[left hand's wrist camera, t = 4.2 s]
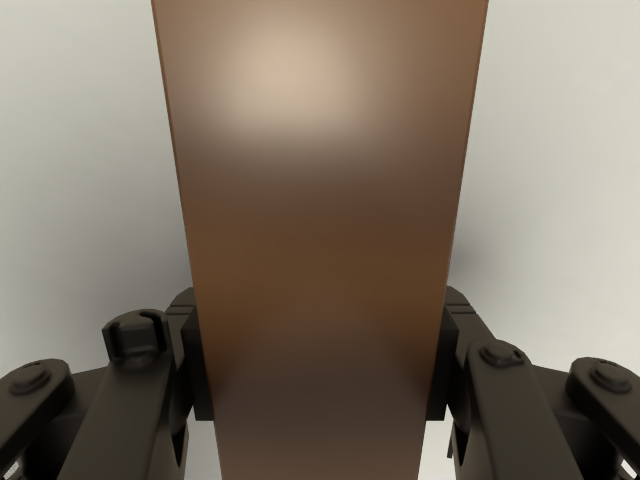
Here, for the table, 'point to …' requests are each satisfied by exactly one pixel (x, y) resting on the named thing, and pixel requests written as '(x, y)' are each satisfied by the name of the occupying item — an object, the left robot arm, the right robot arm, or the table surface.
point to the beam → (319, 218)
